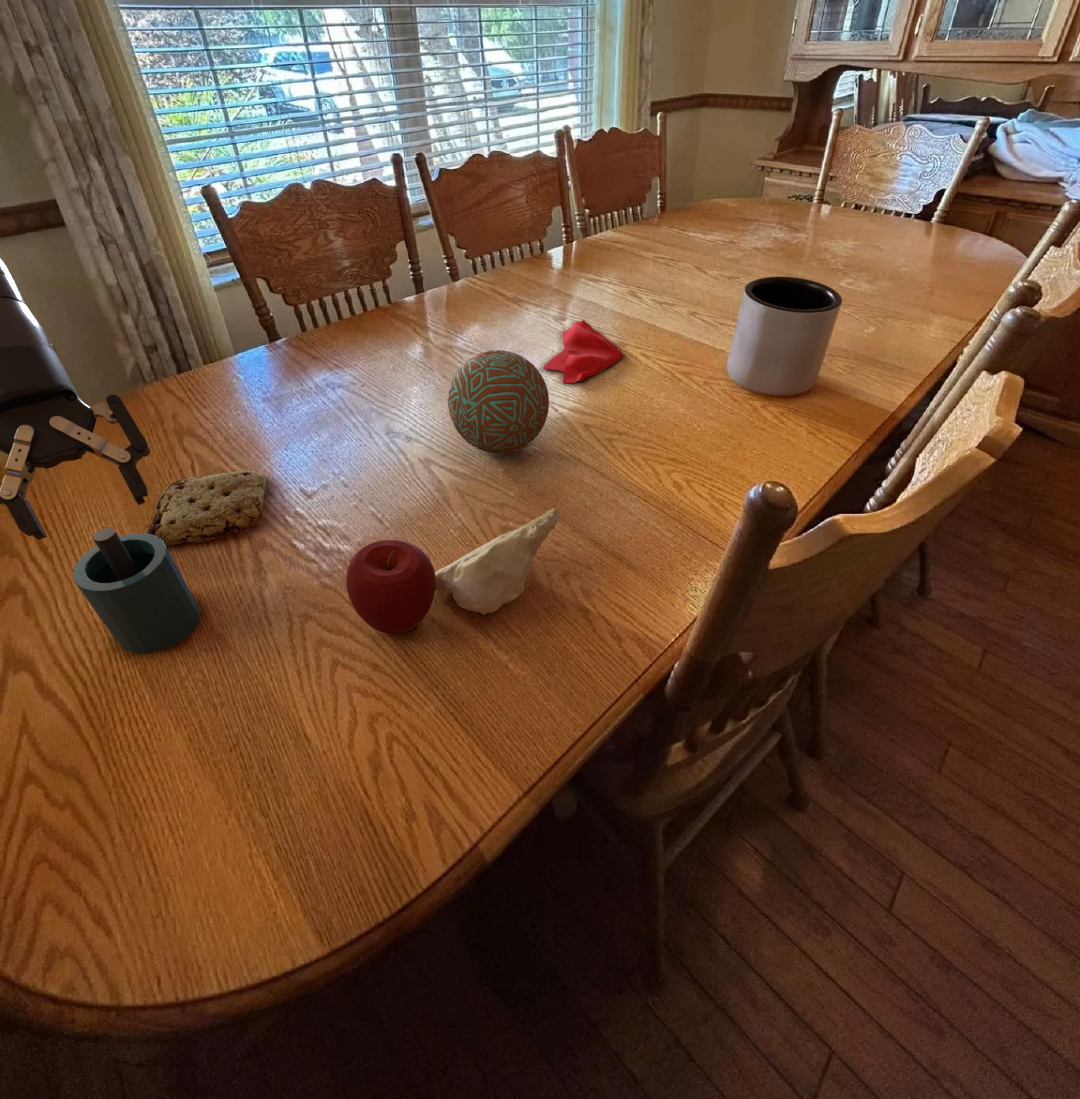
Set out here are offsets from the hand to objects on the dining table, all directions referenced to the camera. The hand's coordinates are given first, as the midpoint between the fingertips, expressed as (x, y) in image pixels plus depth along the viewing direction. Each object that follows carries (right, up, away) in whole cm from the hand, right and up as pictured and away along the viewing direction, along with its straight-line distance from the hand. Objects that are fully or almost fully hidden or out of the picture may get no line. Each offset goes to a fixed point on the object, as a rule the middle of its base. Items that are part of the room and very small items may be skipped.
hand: (92, 519), depth 60 cm
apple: (+26, -11, +13) cm, 31 cm away
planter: (+85, +29, +56) cm, 105 cm away
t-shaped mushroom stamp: (-1, -11, +11) cm, 16 cm away
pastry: (-3, +2, +27) cm, 27 cm away
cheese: (+38, -7, +18) cm, 42 cm away
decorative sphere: (+36, +13, +39) cm, 55 cm away
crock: (-1, -11, +12) cm, 17 cm away
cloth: (+52, +35, +63) cm, 89 cm away
